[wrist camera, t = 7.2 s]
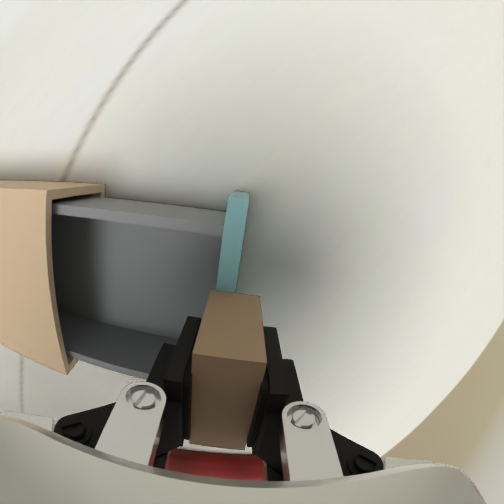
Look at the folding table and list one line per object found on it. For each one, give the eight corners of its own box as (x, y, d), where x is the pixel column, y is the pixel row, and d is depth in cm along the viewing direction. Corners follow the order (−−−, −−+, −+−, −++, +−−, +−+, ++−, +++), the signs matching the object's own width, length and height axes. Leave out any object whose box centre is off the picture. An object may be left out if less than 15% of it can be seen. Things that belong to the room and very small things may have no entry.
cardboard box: (-6, 289, 18) (-46, 313, 12) (-13, 180, 15) (-61, 187, 9) (105, 327, 19) (66, 375, 13) (105, 184, 16) (46, 190, 10)
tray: (53, 318, 19) (-23, 389, 8) (47, 174, 16) (-69, 188, 5) (237, 360, 20) (233, 488, 9) (264, 195, 17) (296, 221, 6)
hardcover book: (117, 433, 23) (106, 459, 19) (303, 449, 24) (309, 478, 20) (140, 477, 26) (134, 499, 22) (288, 489, 27) (291, 512, 23)
